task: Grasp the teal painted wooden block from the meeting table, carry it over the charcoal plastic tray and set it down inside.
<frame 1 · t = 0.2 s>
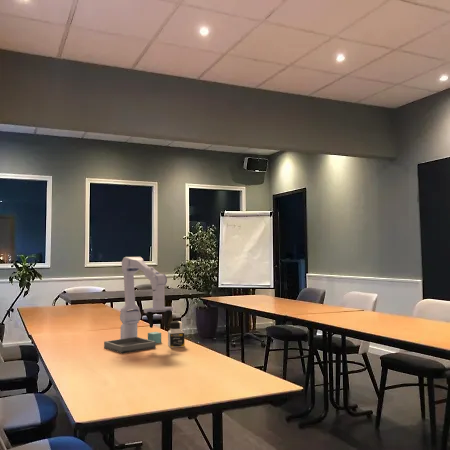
hand: (158, 326, 225), 10 cm above the table, fingers open, 7 cm apart
medicine bottle: (176, 346, 227), on the table
teal block: (154, 342, 237), on the table
charcoal tray: (129, 347, 224), on the table
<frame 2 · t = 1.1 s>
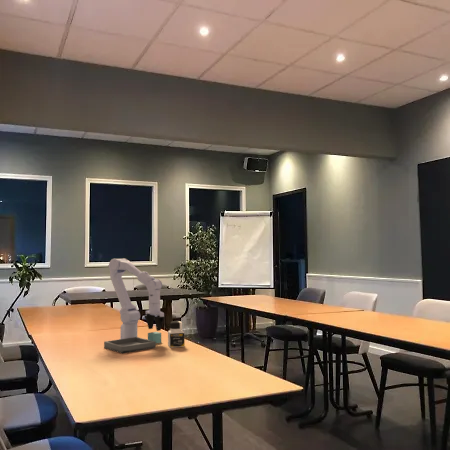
hand: (154, 329, 237), 6 cm above the table, fingers open, 7 cm apart
nothing on the table moved.
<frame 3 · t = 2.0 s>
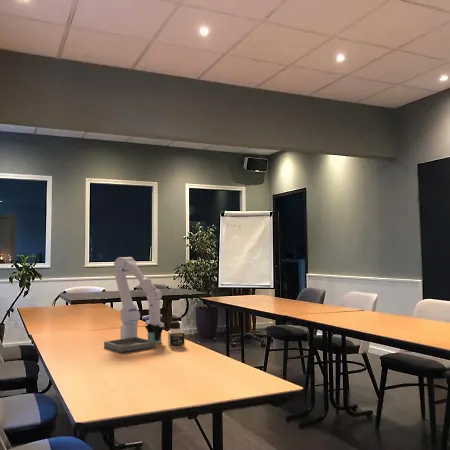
hand: (154, 339, 237), 1 cm above the table, fingers closed on teal block, 5 cm apart
teal block: (154, 342, 237), on the table, touching gripper
everything else where it was.
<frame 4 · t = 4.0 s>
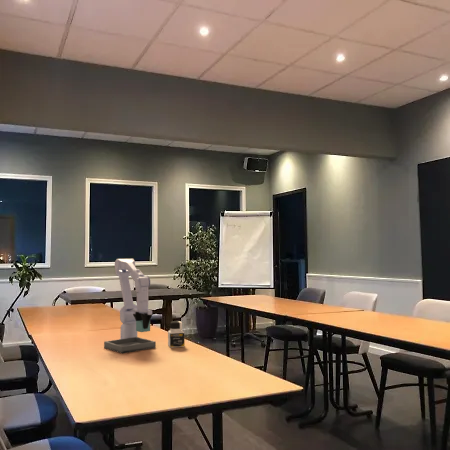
hand: (142, 328, 231), 8 cm above the table, fingers closed on teal block, 5 cm apart
teal block: (143, 331, 231), point 7 cm above the table, touching gripper
everything else where it was.
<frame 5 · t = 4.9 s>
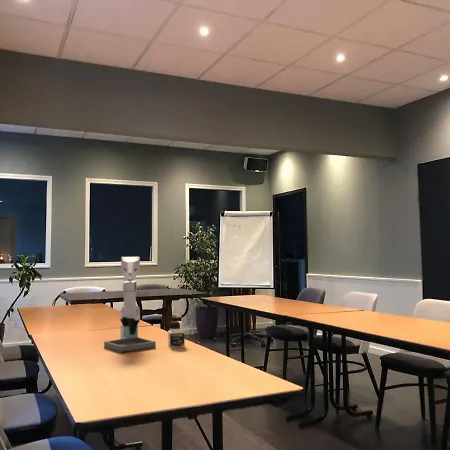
hand: (129, 333, 224), 7 cm above the table, fingers closed on teal block, 5 cm apart
teal block: (130, 336, 225), point 5 cm above the table, touching gripper
everything else where it was.
when the fingers open (4 cm above the table, at t = 5.9 s): teal block drops 1 cm, resting on charcoal tray.
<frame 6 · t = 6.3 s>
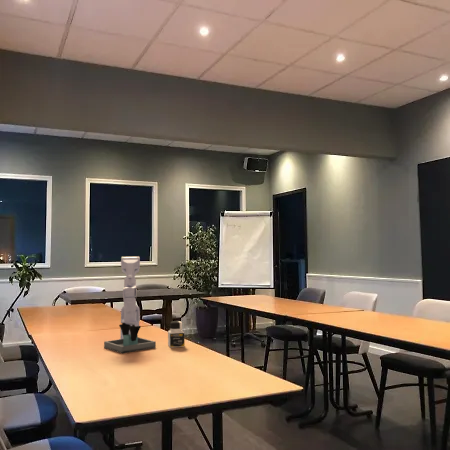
hand: (129, 339, 224), 4 cm above the table, fingers open, 7 cm apart
teal block: (130, 345, 224), point 1 cm above the table, touching charcoal tray
everything else where it was.
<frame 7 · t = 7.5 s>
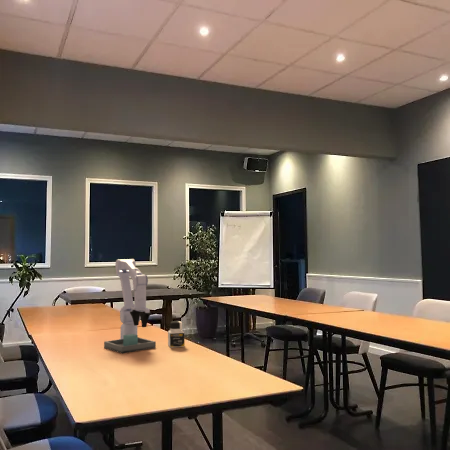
hand: (140, 326, 231), 9 cm above the table, fingers open, 7 cm apart
nothing on the table moved.
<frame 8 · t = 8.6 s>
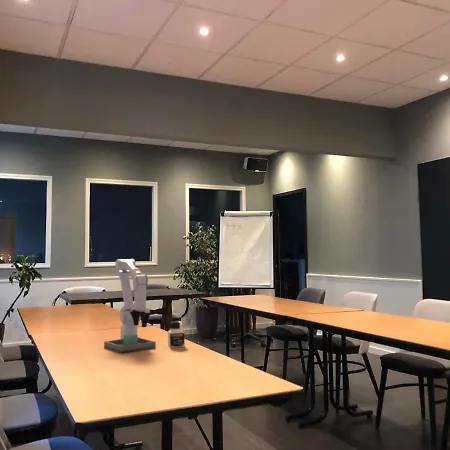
hand: (140, 326, 231), 9 cm above the table, fingers open, 7 cm apart
nothing on the table moved.
at the end: teal block inside the target area on the charcoal tray (0.4 cm from its centre), point 1.0 cm above the charcoal tray's base; the gripper is holding nothing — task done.
